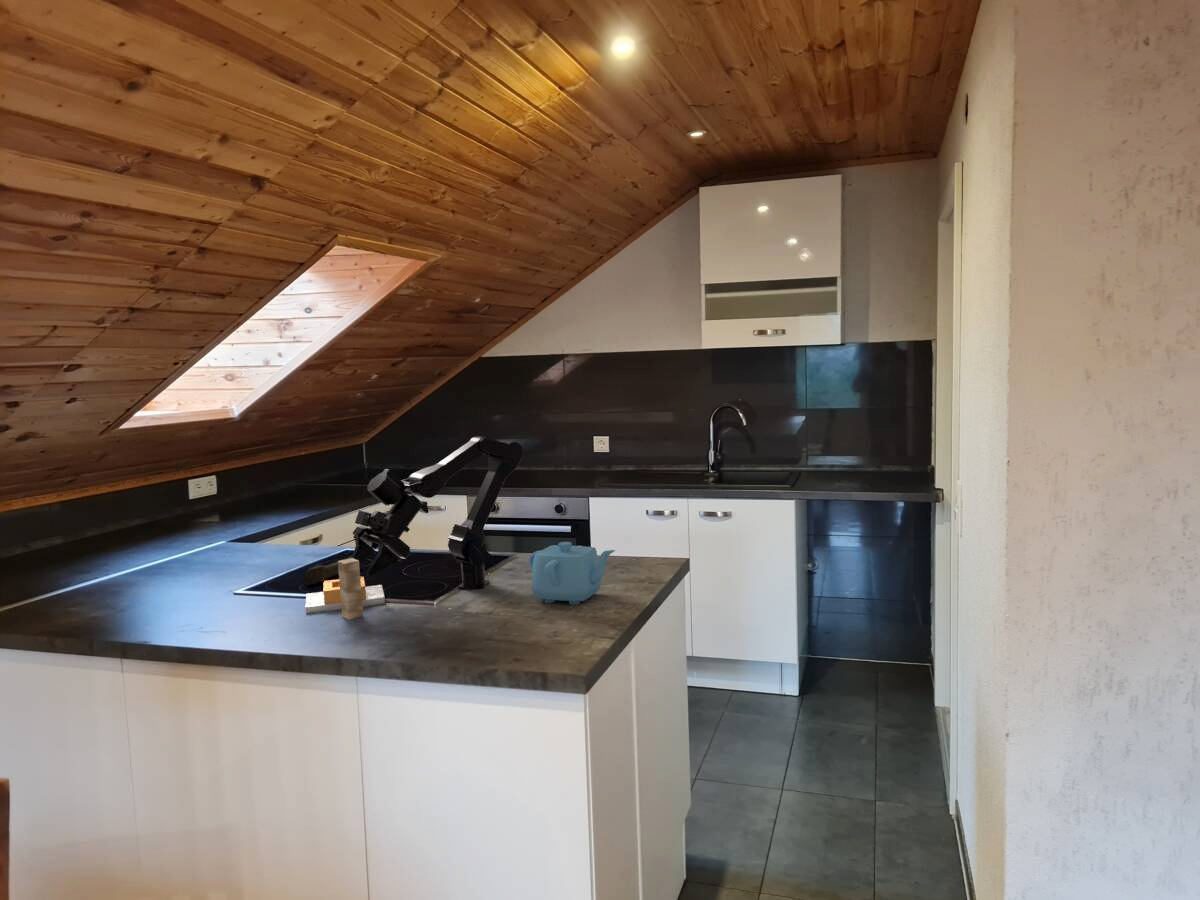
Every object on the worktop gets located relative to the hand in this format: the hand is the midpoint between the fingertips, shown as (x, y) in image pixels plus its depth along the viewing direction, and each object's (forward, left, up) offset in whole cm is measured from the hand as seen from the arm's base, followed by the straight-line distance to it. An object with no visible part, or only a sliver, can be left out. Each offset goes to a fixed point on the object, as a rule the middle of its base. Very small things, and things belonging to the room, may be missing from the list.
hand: (358, 571), depth 200 cm
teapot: (-13, +47, -10) cm, 50 cm away
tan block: (+2, -1, -10) cm, 10 cm away
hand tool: (-31, -22, -10) cm, 40 cm away
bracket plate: (-9, -8, -10) cm, 16 cm away
